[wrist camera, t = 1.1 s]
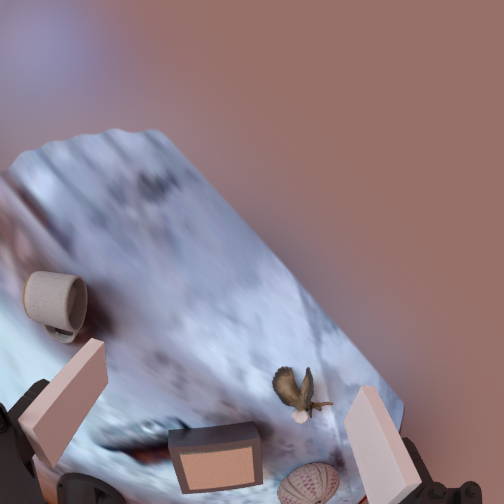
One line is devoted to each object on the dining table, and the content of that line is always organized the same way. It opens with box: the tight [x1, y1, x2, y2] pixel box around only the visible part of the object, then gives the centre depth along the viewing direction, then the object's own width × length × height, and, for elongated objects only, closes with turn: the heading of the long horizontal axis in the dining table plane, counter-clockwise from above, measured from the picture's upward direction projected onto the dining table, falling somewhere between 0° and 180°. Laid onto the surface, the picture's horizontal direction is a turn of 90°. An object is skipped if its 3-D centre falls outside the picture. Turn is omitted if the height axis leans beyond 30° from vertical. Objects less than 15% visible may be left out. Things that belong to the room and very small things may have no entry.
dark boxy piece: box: [168, 421, 263, 494], centre depth 37 cm, size 12×14×5 cm
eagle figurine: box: [272, 367, 333, 424], centre depth 40 cm, size 8×7×9 cm
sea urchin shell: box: [277, 462, 340, 504], centre depth 40 cm, size 13×14×8 cm
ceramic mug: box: [23, 271, 87, 343], centre depth 31 cm, size 11×8×8 cm
